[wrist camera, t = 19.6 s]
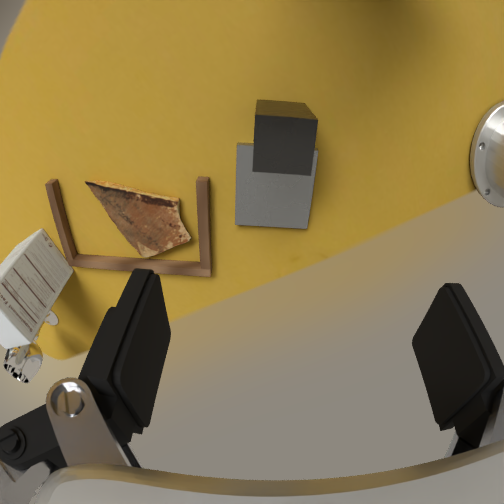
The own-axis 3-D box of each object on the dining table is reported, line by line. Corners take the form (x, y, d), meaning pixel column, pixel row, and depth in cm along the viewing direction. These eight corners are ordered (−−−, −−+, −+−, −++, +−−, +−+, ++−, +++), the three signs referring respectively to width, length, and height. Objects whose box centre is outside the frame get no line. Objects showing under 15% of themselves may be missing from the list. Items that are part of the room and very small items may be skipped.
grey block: (239, 98, 24) (231, 113, 19) (321, 105, 24) (340, 122, 19) (235, 220, 31) (229, 264, 26) (306, 224, 31) (315, 268, 26)
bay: (209, 176, 29) (207, 182, 28) (211, 269, 35) (210, 276, 34) (50, 179, 29) (45, 184, 28) (73, 260, 35) (68, 265, 34)
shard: (90, 175, 29) (82, 183, 28) (146, 139, 27) (139, 145, 25) (146, 253, 35) (141, 262, 33) (202, 228, 33) (199, 237, 31)
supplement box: (46, 284, 38) (5, 351, 28) (15, 244, 34) (-35, 307, 24) (76, 271, 36) (32, 345, 26) (43, 225, 32) (-14, 295, 22)
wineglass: (56, 331, 44) (29, 388, 35) (30, 312, 42) (-2, 367, 32) (65, 318, 42) (35, 380, 32) (37, 296, 40) (2, 356, 30)
